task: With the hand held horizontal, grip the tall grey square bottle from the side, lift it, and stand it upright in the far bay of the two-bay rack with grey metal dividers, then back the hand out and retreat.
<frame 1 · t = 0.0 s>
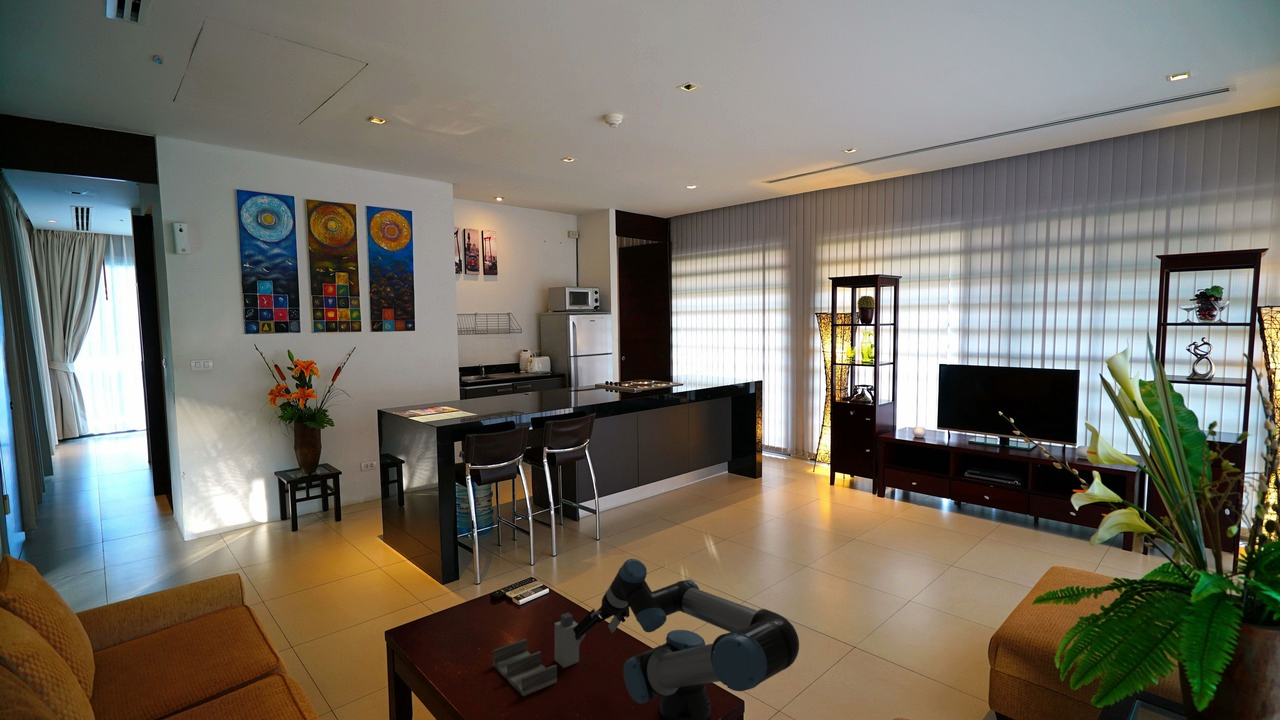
hand: (593, 635, 195), 15 cm above the table, tool tilted 35°, fingers open, 13 cm apart
grey square bottle: (566, 660, 207), on the table
slot rack: (524, 673, 199), on the table
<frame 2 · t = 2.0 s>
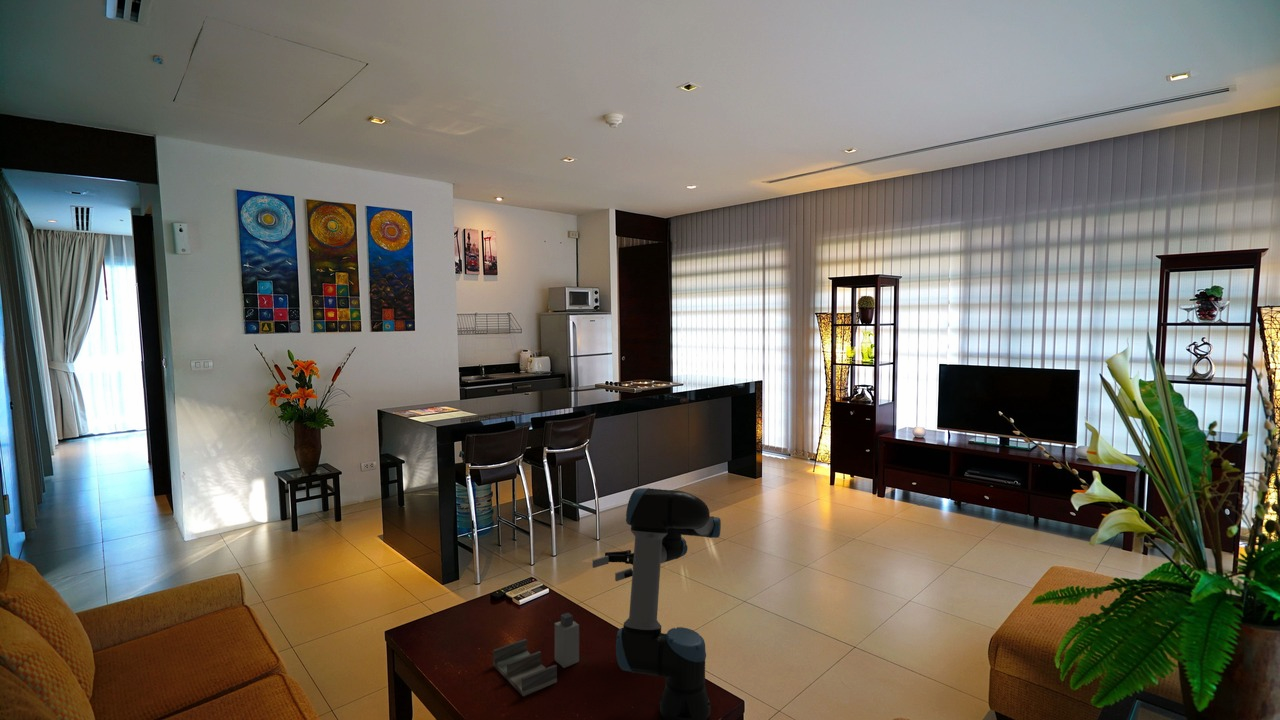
hand: (604, 570, 210), 30 cm above the table, tool horizontal, fingers open, 13 cm apart
nothing on the table moved.
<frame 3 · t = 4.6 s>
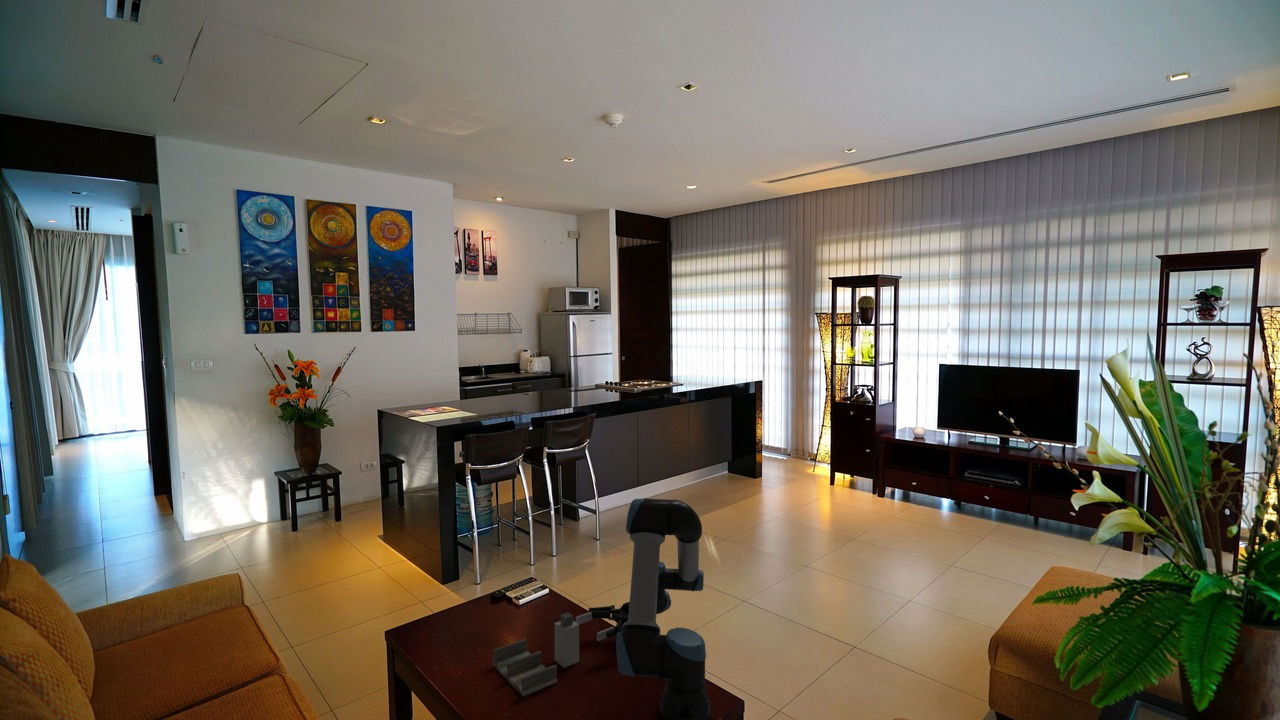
hand: (586, 628, 212), 8 cm above the table, tool horizontal, fingers open, 13 cm apart
nothing on the table moved.
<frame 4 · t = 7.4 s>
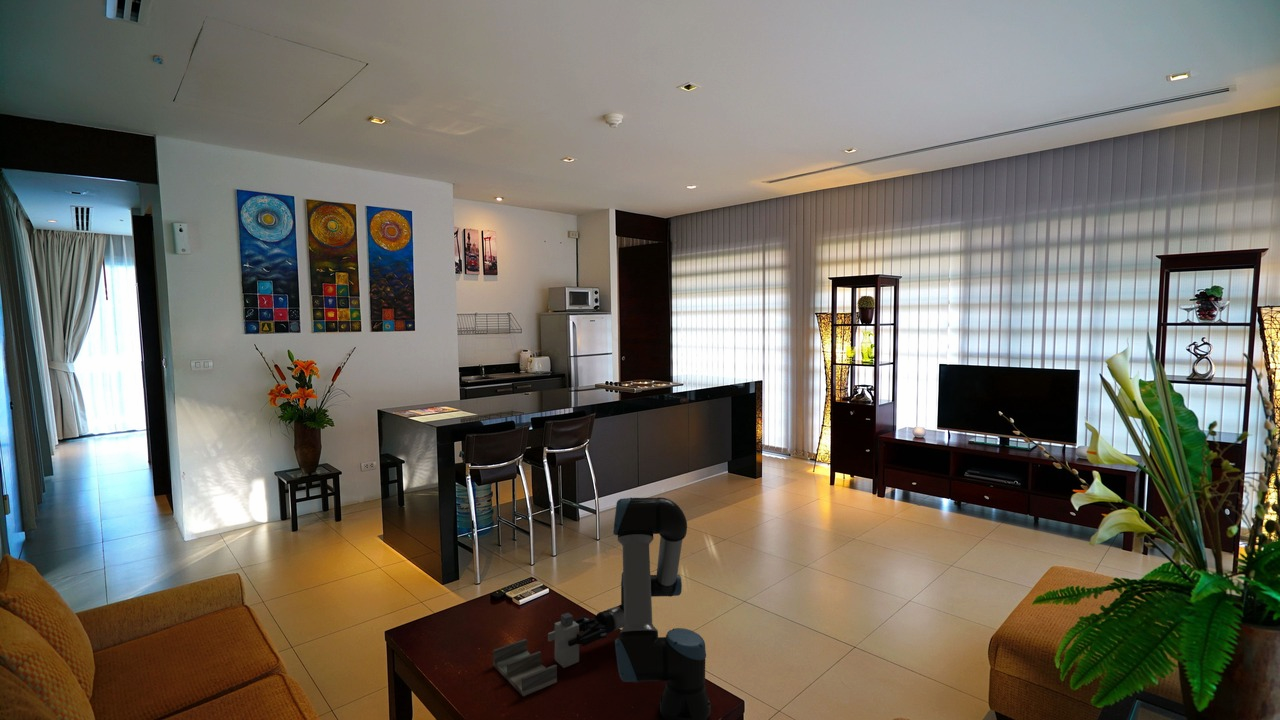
hand: (553, 641, 203), 9 cm above the table, tool horizontal, fingers closed on grey square bottle, 6 cm apart
grey square bottle: (566, 660, 207), on the table, touching gripper
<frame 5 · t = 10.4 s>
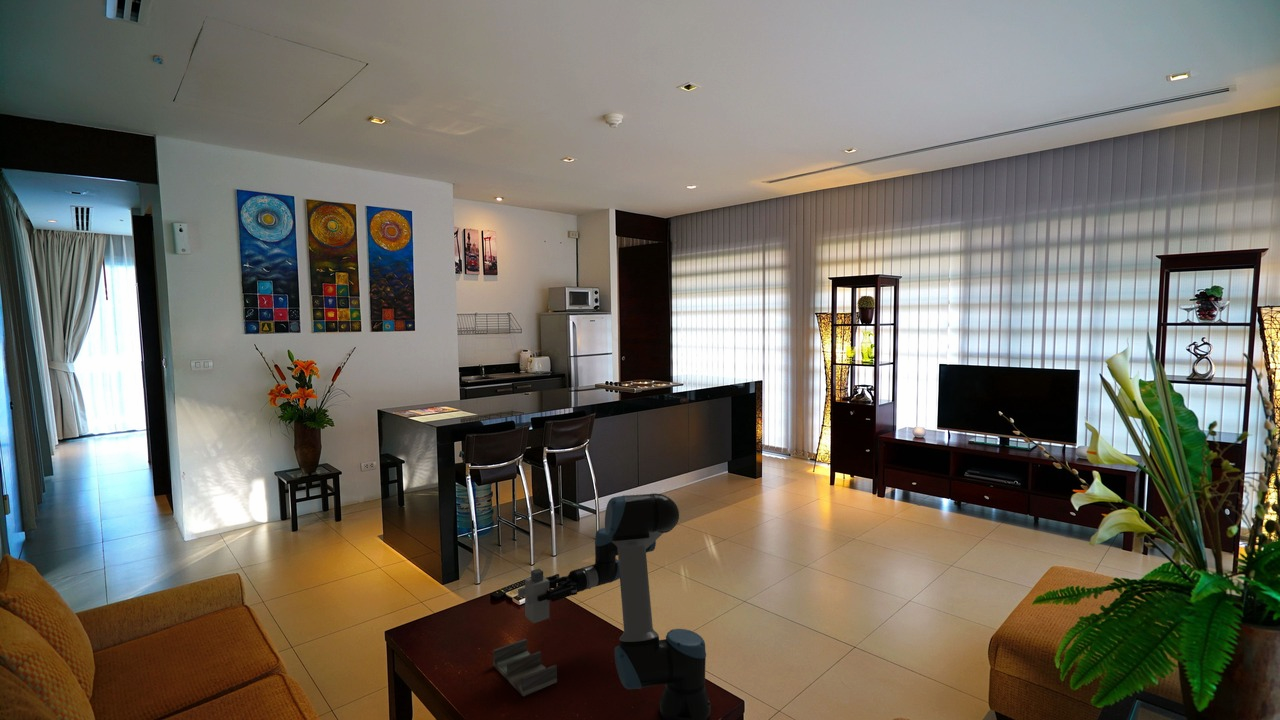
hand: (523, 596, 201), 24 cm above the table, tool horizontal, fingers closed on grey square bottle, 6 cm apart
grey square bottle: (537, 617, 205), point 16 cm above the table, touching gripper
when the fingers open (11 cm above the table, at t = 13.7 s): grey square bottle drops 1 cm, resting on slot rack.
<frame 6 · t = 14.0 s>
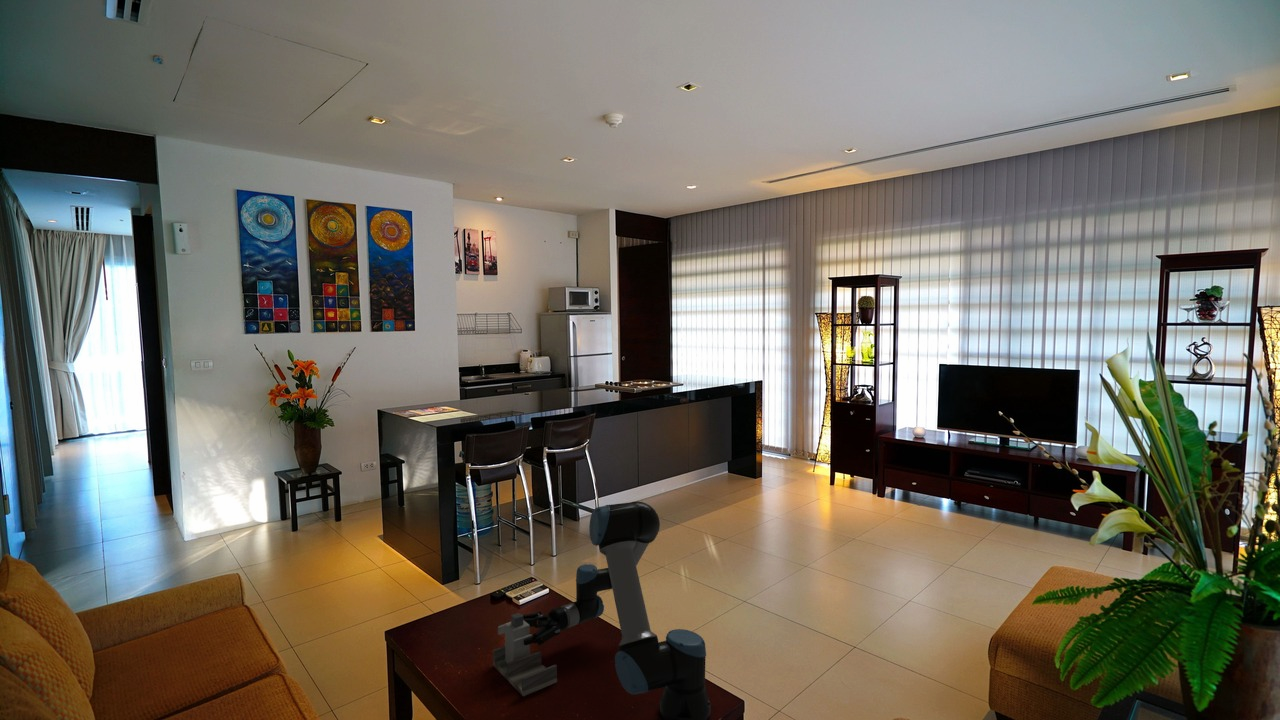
hand: (505, 637, 200), 11 cm above the table, tool horizontal, fingers open, 10 cm apart
grey square bottle: (517, 662, 203), point 2 cm above the table, touching slot rack
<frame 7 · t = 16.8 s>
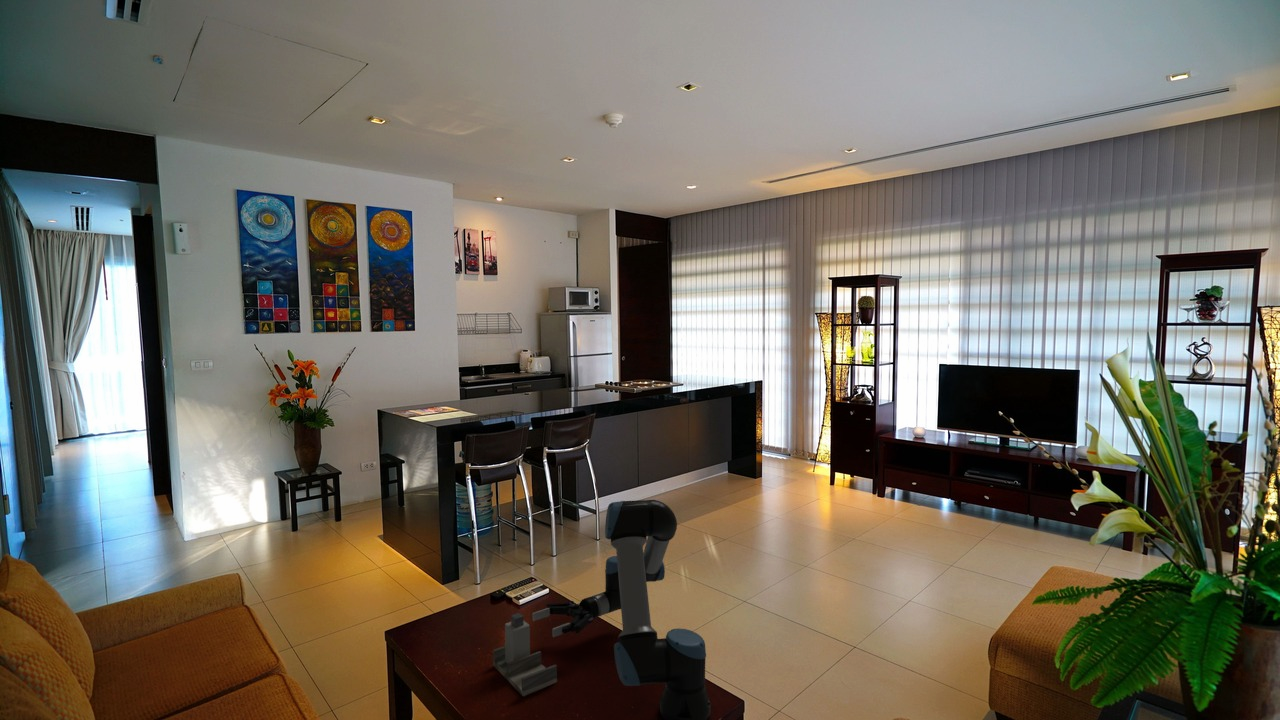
hand: (542, 624, 208), 12 cm above the table, tool horizontal, fingers open, 13 cm apart
nothing on the table moved.
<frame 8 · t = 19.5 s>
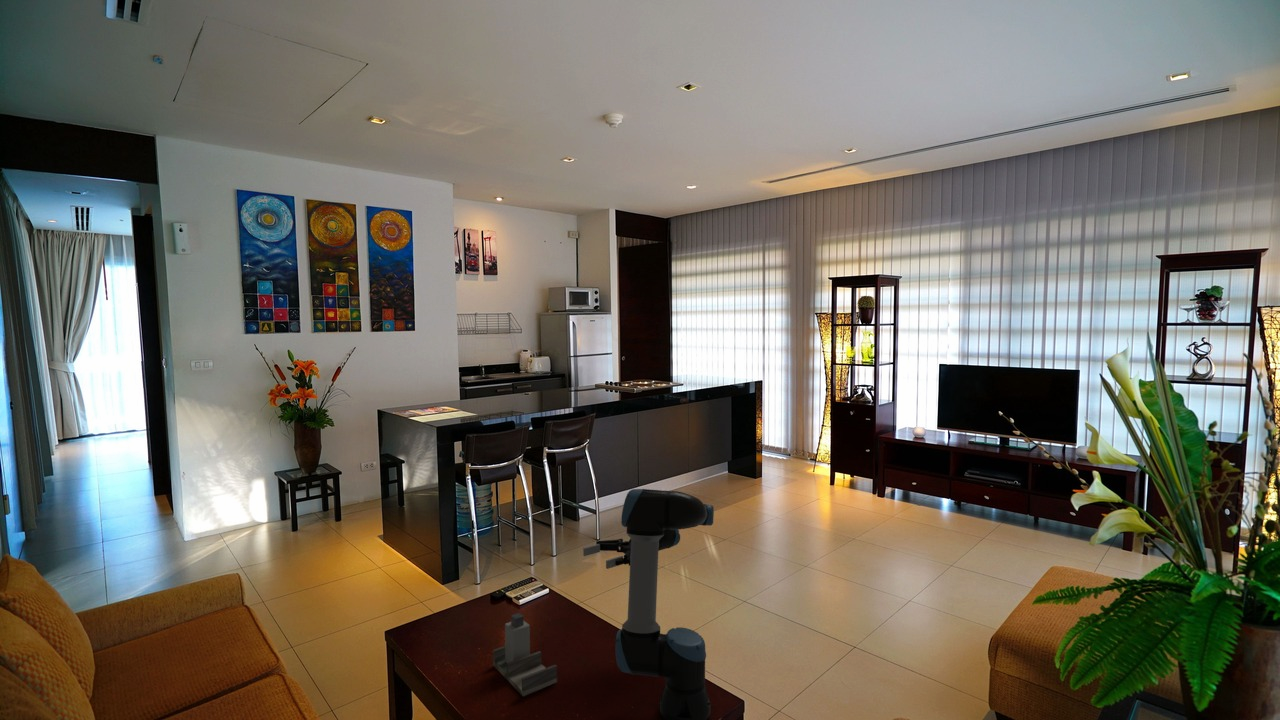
hand: (594, 558, 207), 35 cm above the table, tool horizontal, fingers open, 13 cm apart
nothing on the table moved.
at the end: grey square bottle 0.1 cm from the target spot on the slot rack, point 1.7 cm above the slot rack's base; grey square bottle tilted 0°; the gripper is holding nothing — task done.
